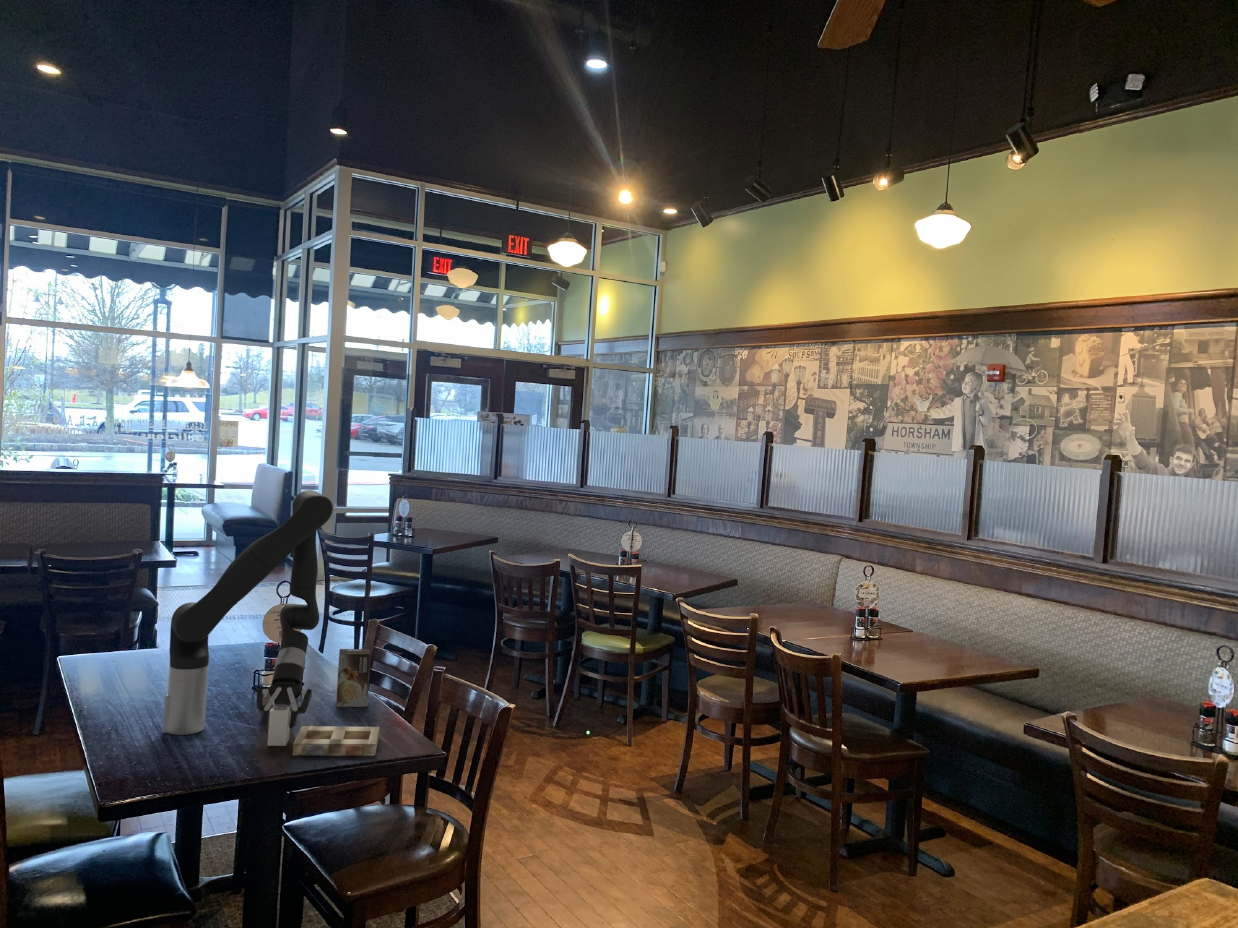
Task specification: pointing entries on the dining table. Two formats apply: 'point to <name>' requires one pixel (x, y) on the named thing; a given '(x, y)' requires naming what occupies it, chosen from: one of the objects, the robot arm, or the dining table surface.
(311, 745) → the socket board
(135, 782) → the dining table surface
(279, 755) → the dining table surface
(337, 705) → the coffee box
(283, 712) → the white tall rectangular block
